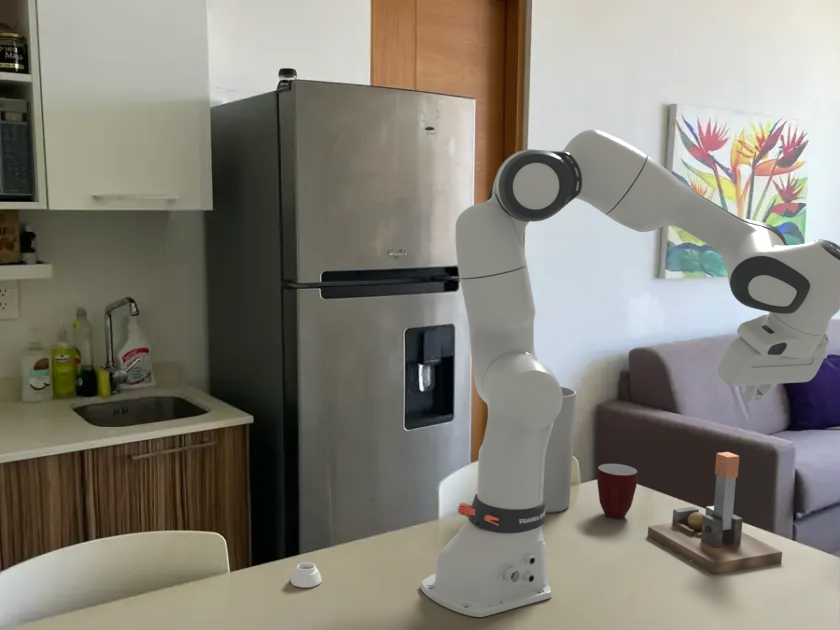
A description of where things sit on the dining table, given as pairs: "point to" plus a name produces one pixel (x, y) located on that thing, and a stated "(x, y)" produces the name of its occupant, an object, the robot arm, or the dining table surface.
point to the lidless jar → (306, 575)
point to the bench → (712, 555)
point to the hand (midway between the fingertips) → (751, 399)
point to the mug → (616, 488)
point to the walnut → (695, 521)
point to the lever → (724, 488)
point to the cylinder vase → (560, 456)
